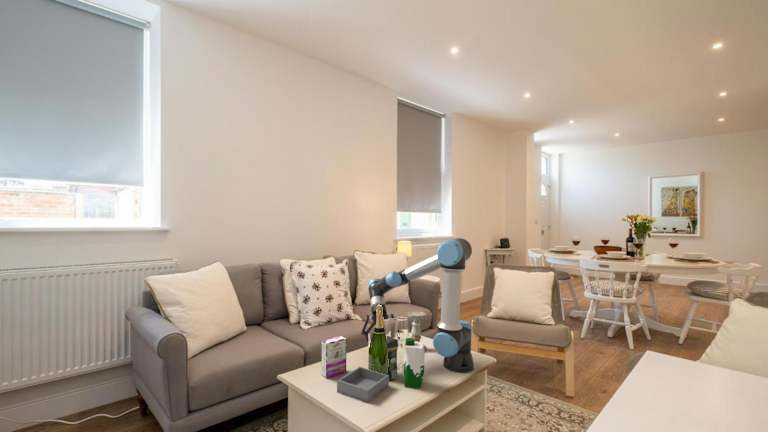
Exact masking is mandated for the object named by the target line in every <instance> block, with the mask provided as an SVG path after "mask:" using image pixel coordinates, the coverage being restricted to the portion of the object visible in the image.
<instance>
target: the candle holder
mask: <svg viewBox="0 0 768 432" xmlns="http://www.w3.org/2000/svg"><path fill="white" fill-rule="evenodd" d="M406 315H407V316H408V317H409V318H412V322H411V325H412V328H411V335H410V338H413V339H414V341H415V342H421V339H422V336H421V334H422V331H421V327H420V326H421V325H422V324H421V322H420V320H421V319H423V318H425V317H427V313H425V312H423V311H420V310H419V311H417V310H412V311H408V312H407V314H406ZM427 349H428V348H427V346H426V345H425V344H424V351H425V352H427Z"/></svg>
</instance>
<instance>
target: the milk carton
mask: <svg viewBox="0 0 768 432" xmlns="http://www.w3.org/2000/svg"><path fill="white" fill-rule="evenodd" d="M424 345H425V342H422V341H420V342H415V341H414V339H413V338H411V337H406V338H405V343H404V351H403V353H404V354H403V381H404V388H412V389H419V390H420V389H422V384H423V380H424V376H425V356H426V355H425V352H426V351H424Z"/></svg>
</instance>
